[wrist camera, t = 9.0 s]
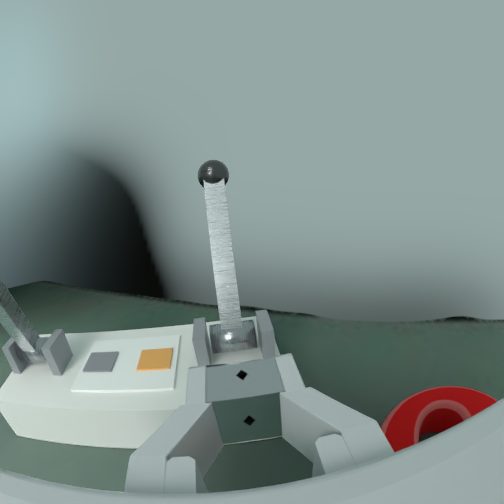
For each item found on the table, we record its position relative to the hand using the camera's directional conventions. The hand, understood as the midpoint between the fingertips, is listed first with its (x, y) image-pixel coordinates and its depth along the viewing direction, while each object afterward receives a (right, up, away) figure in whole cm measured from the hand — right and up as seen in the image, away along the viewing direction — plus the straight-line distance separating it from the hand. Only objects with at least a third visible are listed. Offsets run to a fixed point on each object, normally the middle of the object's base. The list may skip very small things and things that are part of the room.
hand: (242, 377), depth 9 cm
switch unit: (-8, -8, +13) cm, 18 cm away
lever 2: (-1, -2, +12) cm, 12 cm away
